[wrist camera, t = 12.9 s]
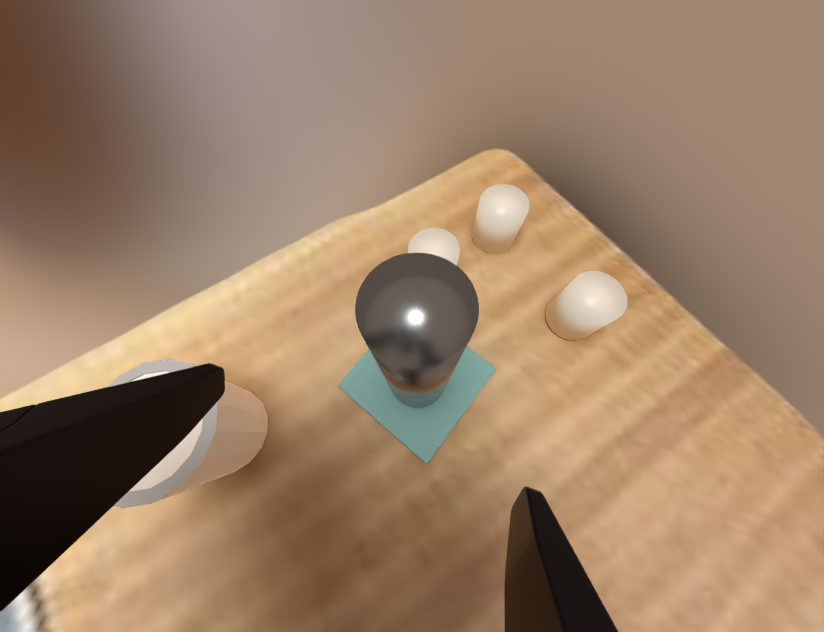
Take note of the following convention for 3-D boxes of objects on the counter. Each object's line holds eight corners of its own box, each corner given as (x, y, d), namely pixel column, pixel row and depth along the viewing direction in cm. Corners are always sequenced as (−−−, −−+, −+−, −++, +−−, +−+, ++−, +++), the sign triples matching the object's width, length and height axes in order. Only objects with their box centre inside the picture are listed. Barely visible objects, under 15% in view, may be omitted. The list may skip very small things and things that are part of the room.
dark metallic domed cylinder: (422, 420, 21) (429, 393, 9) (377, 383, 22) (329, 315, 10) (457, 373, 22) (502, 295, 10) (412, 340, 23) (406, 233, 11)
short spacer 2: (598, 340, 23) (634, 321, 20) (550, 340, 23) (576, 322, 20) (587, 296, 25) (619, 270, 21) (541, 296, 25) (565, 271, 21)
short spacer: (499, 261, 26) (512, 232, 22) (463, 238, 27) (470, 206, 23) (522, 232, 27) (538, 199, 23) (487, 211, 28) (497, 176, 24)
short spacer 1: (436, 305, 25) (438, 281, 21) (400, 279, 26) (397, 253, 22) (463, 272, 26) (470, 245, 22) (428, 249, 27) (429, 219, 23)
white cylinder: (208, 510, 20) (107, 546, 14) (160, 426, 22) (51, 422, 16) (296, 433, 22) (242, 432, 15) (244, 361, 24) (176, 332, 17)
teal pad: (426, 463, 21) (426, 464, 20) (339, 386, 23) (337, 385, 22) (494, 369, 23) (496, 368, 22) (409, 306, 25) (408, 303, 24)
